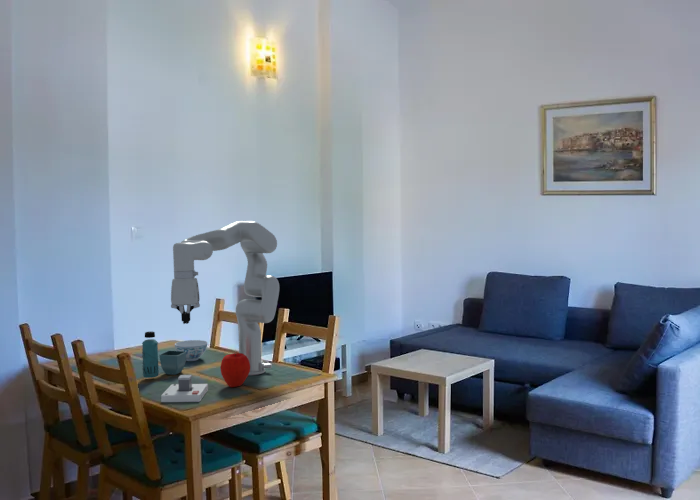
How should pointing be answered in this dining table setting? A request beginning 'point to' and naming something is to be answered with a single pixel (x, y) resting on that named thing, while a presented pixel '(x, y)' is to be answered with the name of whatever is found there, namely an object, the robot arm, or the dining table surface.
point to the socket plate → (184, 393)
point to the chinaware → (192, 348)
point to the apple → (235, 369)
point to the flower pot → (173, 361)
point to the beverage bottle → (150, 356)
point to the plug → (185, 382)
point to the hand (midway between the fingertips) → (186, 323)
